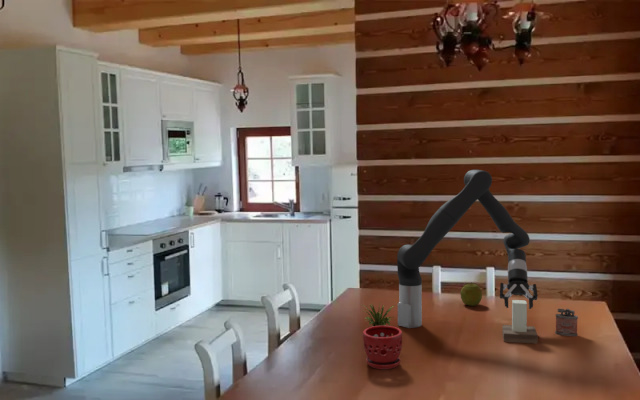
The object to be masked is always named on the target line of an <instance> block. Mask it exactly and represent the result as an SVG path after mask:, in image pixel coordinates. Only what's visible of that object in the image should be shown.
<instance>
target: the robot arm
mask: <svg viewBox="0 0 640 400" xmlns="http://www.w3.org/2000/svg"><path fill="white" fill-rule="evenodd" d="M492 182H493V177H492V175H491V173H489V172H488V171H486V170H481V169H471V170H468V171H467V172H466V173H465V174H464V177H463V183H464V185H465V186H464V187H463V188H462V190H461V191H459V193H458V194H456V195H455V196H453V197H452V198H450V199H449V200H447V201H446V202H445V203H443V204H442V205H441V206H440V207H439V208H438V209H437V210H436V211H435V212H434V213H433V215H432V216H431V217H430V219H429V221H428V222H427V225H426V227H425V229H424V231H423V232H422V234H421V235H420V237H419V238H418V239H417V240H416V241H415V242H414V243H413V244H404V245H401V247H400V248H399V250H398V251H397V255H396V257H397V258H396V259H397V264H396V265H397V277H398V293H399V294H398V297H399V298H398V302H397V326H400V327H403V328H407V329H411V328H412V329H414V328H419V327H420V328H421V327H422V325H423V324H422V323H423V321H422V319H423V317H422V316H423V315H422V313H423V312H422V311H423V309H422V306H423V304H422V301H423V300H422V299H423V298H422V297H423V296H422V295H423V293H422V291H423V289H422V288H423V287H422V286H423V285H422V282H423V280H422V276H421V274H420V267H421V266H422V265H423V264H424V262H425V261H426V259H427V258H428V257H429V255H430V254H431V252H432V251H433V250H434V248H436V246H437V245H438V244H439V243H440V242H441V241H442V240H443V239H444V237H446V235H448V233H449V232H450V231H451V230H452V229H453V227H454V226H455V225H456V224H458V222H459V221H460V220H461V219H462V217H463V216H464V215H465V213H467V211H468V210H470V208H471V207H472V205H473V204H474V203H475V202H477V200H478V202H479V203H480V204H481V206H482V207H483V208H484V210H485V211H486V212H487V213H488V215H489V216H490V218H491V220H492V221H493V224H495V226H496V227H497V229H498V230H499V231H500V232H501V233H508V234H506V235H505V236H504V238H503V241H502V242H503V245H504V248H505V250H506V253H507V254H506V255H507V261H508V264H507V284H505V283H503V282H500V284H499V299H503V300H504V301H503V302H504V307H505V308H506V309H508V308H509V299H510V298H511V297H512V296H520V297H521V296H524V297H525V298H526V299H528V309H529V310H532V309H533V307H534V301H537V300H538V298H539V297H538V289H537V284H536V283H533V284H532V285H531V284H529V282H528V280H529V279H528V267H527V259H526V258H527V255H526V252H525V251H524V250H523V249H521V248H524V247H526V246H528V245H529V244H530V241H531V239H530V237H529V234H528V233H527V232H526V230H525V229H524V228H522V227H521V226H520V225H519V224H518V223H516V222H515V221H514V218H512V216H511V215H510V213H509V211H508V210H507V209H506V208H505V206H504V205H503V204H502V203H501V202H500V201H499V200H498V199H497V198H496V197H495V196H494V195H493V193H492V192H491V191H490V188H491V186H492ZM506 289H507V292H506V293H505V294H504V291H505V290H506ZM529 289H530V291H532V293H533V295H532V294H531V293H530V291H529Z"/></svg>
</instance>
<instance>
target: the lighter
mask: <svg viewBox="0 0 640 400" xmlns="http://www.w3.org/2000/svg"><path fill="white" fill-rule="evenodd" d="M578 319H579V317H578V315H575V310H573V309H572V310H571V309H570V308H566V309H565V308H557V313H555V332H554V334H555V335H560V336H567V337H578Z"/></svg>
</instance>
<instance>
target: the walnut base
mask: <svg viewBox="0 0 640 400" xmlns="http://www.w3.org/2000/svg"><path fill="white" fill-rule="evenodd" d="M501 332H502V338H503V342H505V343H508V342H509V343H519V344H520V343H523V344H538V333H537V330H536V327H535V326H532V325H531V326H530V325H529V326H528V325H527V332H513V330H512V324H502V331H501Z"/></svg>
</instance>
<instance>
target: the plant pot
mask: <svg viewBox="0 0 640 400" xmlns="http://www.w3.org/2000/svg"><path fill="white" fill-rule="evenodd" d="M372 326H373V325H372ZM372 326H368V327H367V328H365V329H364V330H363V331H362V338H363V347H364V348H363V349H364V352H365V354H366V358H365V359H366V360H365V361H366V363H367V365H368V366H370V367H371V368H374V369H379V370H390V369H394V368H396V367H398V366H399V365H400V363H401V358H400V354H401V353H402V348H403V331H402V330H401V329H400V328H399V327H396V326H392V325H390V326H389V325H385V326H373V327H372ZM381 333H384V336H381V335H380V334H381ZM375 334H376V335H378V337H373V336H374V335H375Z"/></svg>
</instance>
